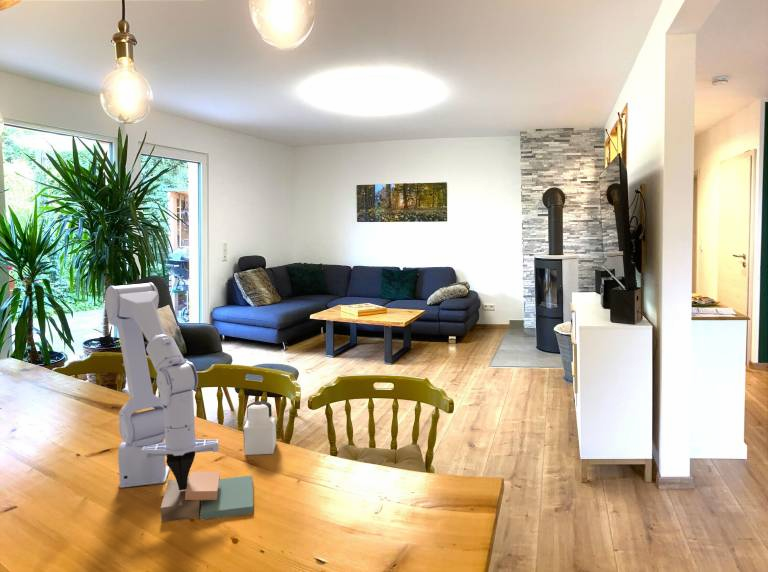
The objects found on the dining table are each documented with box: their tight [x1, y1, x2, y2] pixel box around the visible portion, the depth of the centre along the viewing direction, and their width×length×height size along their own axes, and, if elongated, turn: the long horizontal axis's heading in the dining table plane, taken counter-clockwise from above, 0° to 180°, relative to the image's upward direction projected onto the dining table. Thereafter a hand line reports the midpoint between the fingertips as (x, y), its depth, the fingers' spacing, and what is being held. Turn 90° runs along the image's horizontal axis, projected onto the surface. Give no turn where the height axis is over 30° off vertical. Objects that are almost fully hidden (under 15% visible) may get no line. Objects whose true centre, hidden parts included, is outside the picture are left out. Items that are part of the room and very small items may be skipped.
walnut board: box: [160, 477, 202, 523], centre depth 116 cm, size 7×12×3 cm, turn 13°
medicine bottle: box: [242, 400, 277, 456], centre depth 144 cm, size 7×7×12 cm
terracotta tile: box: [185, 471, 221, 500], centre depth 117 cm, size 6×9×2 cm, turn 13°
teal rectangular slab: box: [199, 475, 254, 521], centre depth 119 cm, size 10×14×2 cm
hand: (183, 487), depth 116 cm, fingers closed
